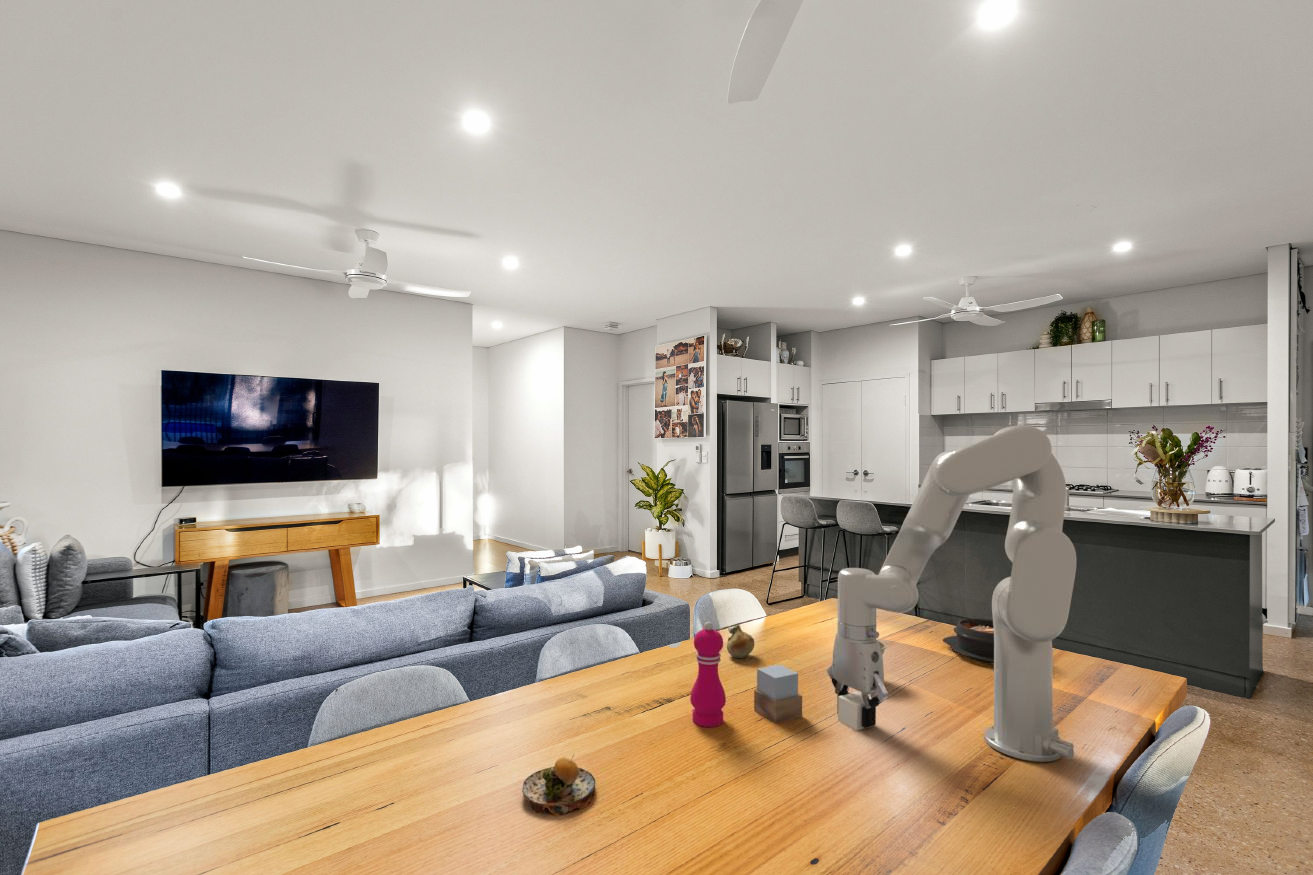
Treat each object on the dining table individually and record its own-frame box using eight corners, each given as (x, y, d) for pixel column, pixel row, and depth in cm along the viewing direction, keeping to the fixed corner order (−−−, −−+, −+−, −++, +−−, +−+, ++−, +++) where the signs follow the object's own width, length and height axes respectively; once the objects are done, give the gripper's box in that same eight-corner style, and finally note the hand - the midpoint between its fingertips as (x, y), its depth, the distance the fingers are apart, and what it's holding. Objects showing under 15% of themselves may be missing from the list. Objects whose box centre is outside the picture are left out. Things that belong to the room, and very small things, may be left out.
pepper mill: (723, 730, 124) (724, 627, 124) (687, 726, 126) (688, 625, 126) (727, 714, 131) (728, 618, 131) (692, 711, 133) (693, 615, 133)
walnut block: (802, 717, 131) (802, 695, 131) (775, 724, 127) (775, 701, 127) (779, 704, 137) (780, 684, 137) (754, 711, 133) (754, 689, 133)
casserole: (926, 646, 177) (926, 616, 177) (976, 639, 184) (977, 611, 184) (1002, 677, 154) (1002, 643, 154) (1057, 669, 160) (1057, 635, 160)
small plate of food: (561, 768, 110) (562, 725, 110) (611, 792, 102) (611, 746, 102) (505, 797, 100) (506, 750, 100) (555, 826, 93) (555, 775, 93)
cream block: (874, 725, 127) (874, 700, 127) (856, 730, 125) (856, 705, 125) (855, 715, 131) (855, 691, 131) (837, 720, 129) (838, 696, 129)
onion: (722, 660, 164) (723, 629, 164) (728, 650, 172) (728, 621, 172) (752, 663, 162) (752, 632, 162) (756, 653, 170) (756, 623, 170)
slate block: (797, 694, 131) (798, 673, 131) (774, 700, 128) (775, 678, 128) (779, 685, 136) (779, 664, 136) (756, 689, 133) (757, 668, 134)
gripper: (904, 639, 122) (904, 732, 122) (838, 617, 137) (838, 700, 137) (877, 645, 119) (876, 741, 119) (812, 622, 134) (812, 707, 134)
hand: (856, 718), depth 128 cm, fingers open, 5 cm apart
